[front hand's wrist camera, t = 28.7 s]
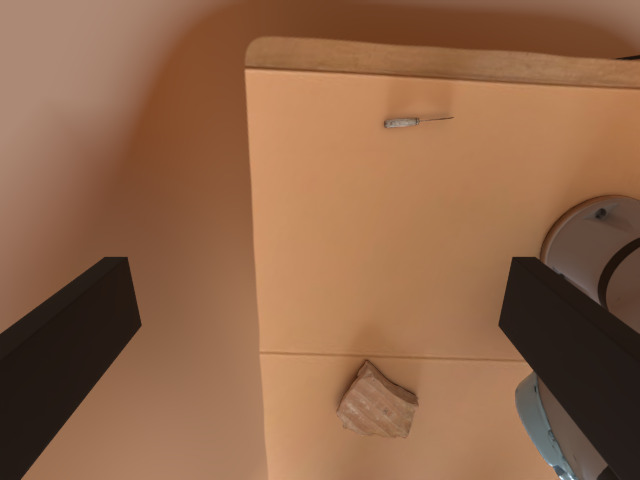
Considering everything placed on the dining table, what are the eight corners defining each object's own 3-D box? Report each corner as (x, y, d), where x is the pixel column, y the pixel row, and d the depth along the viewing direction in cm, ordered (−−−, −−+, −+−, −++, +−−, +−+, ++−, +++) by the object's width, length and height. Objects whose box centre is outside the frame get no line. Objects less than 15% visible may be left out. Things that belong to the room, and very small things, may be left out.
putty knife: (383, 119, 43) (385, 120, 42) (450, 111, 43) (455, 112, 42) (383, 128, 44) (385, 129, 42) (450, 120, 43) (455, 121, 42)
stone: (326, 410, 60) (327, 423, 57) (364, 358, 56) (366, 370, 54) (392, 437, 62) (395, 451, 60) (433, 389, 58) (438, 402, 56)
